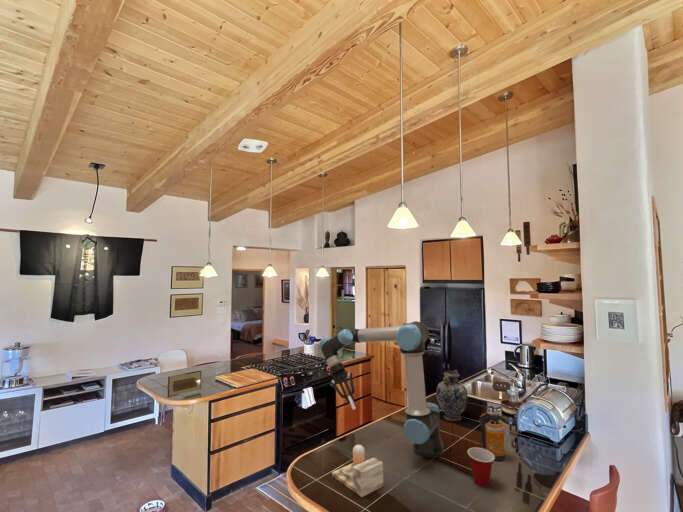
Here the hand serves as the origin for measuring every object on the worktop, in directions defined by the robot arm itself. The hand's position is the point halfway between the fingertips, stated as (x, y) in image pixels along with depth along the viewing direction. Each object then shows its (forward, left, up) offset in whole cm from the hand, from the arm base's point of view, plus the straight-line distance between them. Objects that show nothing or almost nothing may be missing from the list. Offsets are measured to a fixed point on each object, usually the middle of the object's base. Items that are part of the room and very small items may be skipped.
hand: (354, 409), depth 176 cm
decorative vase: (-42, -62, -22) cm, 78 cm away
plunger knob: (-10, +23, -20) cm, 32 cm away
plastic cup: (-59, +5, -22) cm, 63 cm away
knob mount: (-9, +22, -21) cm, 32 cm away
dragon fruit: (-62, -54, -22) cm, 85 cm away
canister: (-64, -20, -22) cm, 70 cm away
